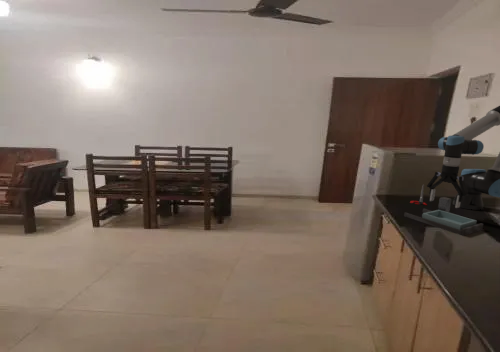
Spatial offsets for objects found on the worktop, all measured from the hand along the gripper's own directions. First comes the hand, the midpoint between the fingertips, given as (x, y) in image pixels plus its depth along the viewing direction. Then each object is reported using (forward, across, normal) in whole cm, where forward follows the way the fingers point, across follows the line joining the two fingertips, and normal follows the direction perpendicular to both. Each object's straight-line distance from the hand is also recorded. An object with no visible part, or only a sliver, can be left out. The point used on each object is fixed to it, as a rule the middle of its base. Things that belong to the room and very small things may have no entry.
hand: (444, 204), depth 168 cm
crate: (+6, +11, -14) cm, 19 cm away
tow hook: (+7, -20, +10) cm, 23 cm away
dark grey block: (+7, 0, 0) cm, 7 cm away
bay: (+7, +8, -14) cm, 18 cm away
